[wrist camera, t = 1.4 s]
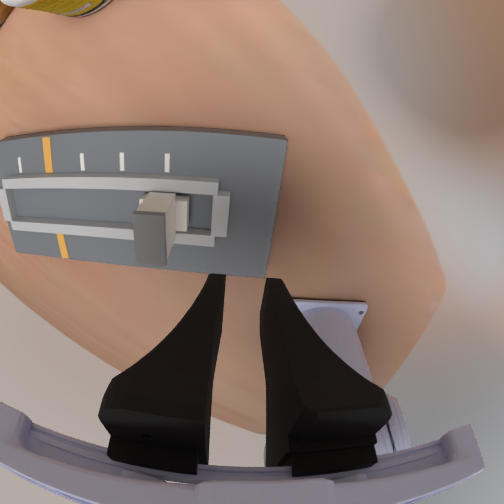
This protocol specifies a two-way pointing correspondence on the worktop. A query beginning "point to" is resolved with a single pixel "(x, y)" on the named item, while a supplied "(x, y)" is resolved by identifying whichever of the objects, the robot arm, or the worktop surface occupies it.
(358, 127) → the worktop surface
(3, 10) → the pastry
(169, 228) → the fader tab
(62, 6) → the supplement bottle
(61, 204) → the console
